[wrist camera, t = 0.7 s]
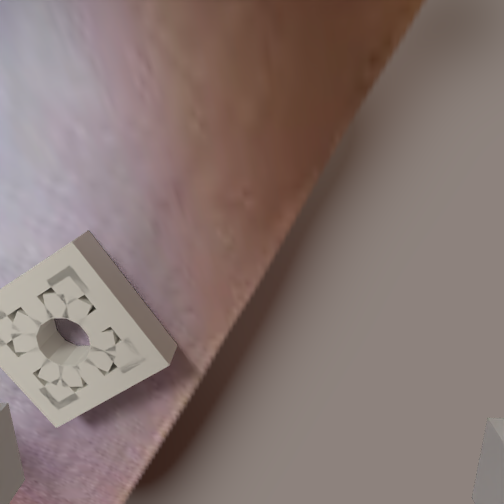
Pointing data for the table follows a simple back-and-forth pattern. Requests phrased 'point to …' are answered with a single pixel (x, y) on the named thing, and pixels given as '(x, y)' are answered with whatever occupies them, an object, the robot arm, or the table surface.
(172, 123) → the table surface
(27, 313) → the bore block
